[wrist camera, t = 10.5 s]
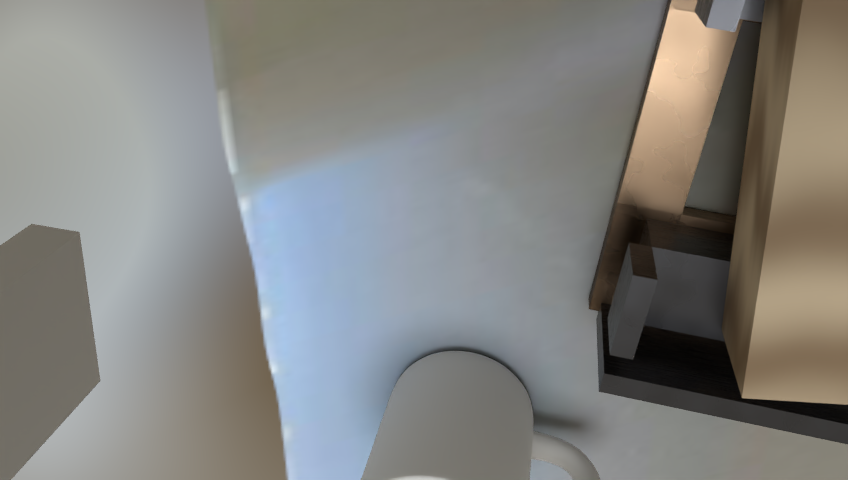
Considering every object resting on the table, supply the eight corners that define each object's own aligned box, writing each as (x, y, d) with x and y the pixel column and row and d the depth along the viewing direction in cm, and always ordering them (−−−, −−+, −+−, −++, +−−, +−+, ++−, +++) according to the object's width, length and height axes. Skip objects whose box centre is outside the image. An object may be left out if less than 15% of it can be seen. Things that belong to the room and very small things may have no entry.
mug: (614, 370, 42) (623, 514, 33) (586, 483, 46) (588, 640, 36) (397, 333, 43) (349, 461, 34) (388, 445, 47) (343, 587, 38)
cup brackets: (712, -166, 30) (746, -171, 24) (1066, -118, 29) (1199, -109, 23) (586, 306, 40) (587, 389, 34) (843, 358, 39) (892, 453, 33)
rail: (771, -45, 28) (806, -25, 24) (922, -50, 27) (989, -31, 23) (721, 329, 35) (741, 398, 31) (840, 335, 34) (879, 406, 30)
